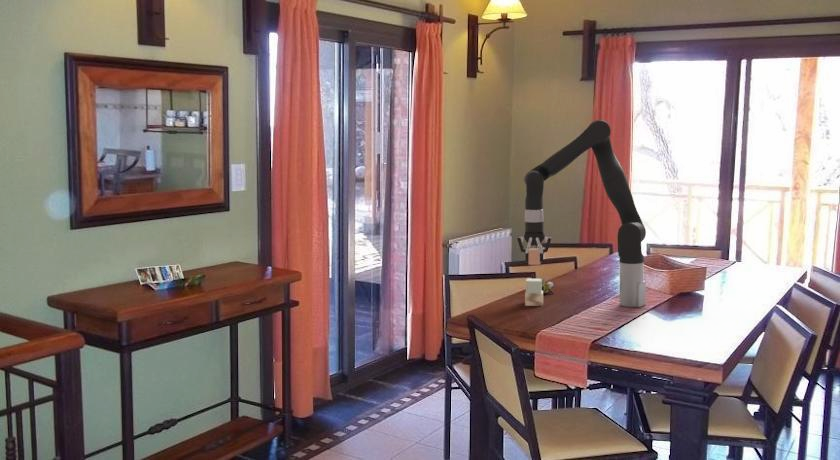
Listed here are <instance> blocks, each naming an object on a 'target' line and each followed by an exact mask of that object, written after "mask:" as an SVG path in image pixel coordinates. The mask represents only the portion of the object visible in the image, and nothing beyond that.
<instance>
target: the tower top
mask: <svg viewBox="0 0 840 460" xmlns="http://www.w3.org/2000/svg"><path fill="white" fill-rule="evenodd" d="M542 279H543V278H526V281H525V282H526V283H525V285H526V286H525V287H526V288H525V292H526V293H532V294H541V293H542Z"/></svg>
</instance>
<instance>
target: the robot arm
mask: <svg viewBox="0 0 840 460" xmlns="http://www.w3.org/2000/svg"><path fill="white" fill-rule="evenodd" d="M611 134H612V129H611V126H610V124H609V123H608V122H607V121H605V120H604V119H603V120H602V119H598V120H597V119H596V120H594V121H592V122H591V123H590V124H589V125H588V127H587V128H586V129H584V131H582V133H581V134H580V135H578V136H577V137H576V138H575V139H574V140H572V141H571V142H570V143H568V144H566V145H565V146H564V147H562V148H561V149H559V150H558V151H556V152H555V153H554V154H552V155H550V156H549V157H548V158H546V159H545V160H543V162H542V163H540V164H538V165H537V166H535V167H534V168H531V169H530V170H529V171H528V172H527V173H526V174H525V175H524V179H523V181H524V183H525V187H526V190H525V191H526V196H525V198H524V199H525V201H524V203H525V207H524V208H525V209H524V234H523V236H519V237H517V238H516V240H517V242H518V246H519V248H520V252H521V253H524V254H525V262H526V263H528V264H529V249H530V248H531V247H533V246H537V248H539V250H540V264H542V262H544V260H545V259H544V254H545V253H548V251H549V249H550V244H551V242H552V241H551V240H552V237H551V236H546V235H545V233H544V232H545V231H544V230H545V229H544V226H545V225H544V223H545V222H544V221H545V220H544V219H545V218H544V200H543V194H544V187H545V186H544V183H545V181H547V180H548V179H549V178H551V177H554V176H556V175H558V174H559V173H560V172H561V171H563V170H564V169H565V168H567V167H568V166H569V165H570V164H572V163H573V162H574V161H575V160H576V159H577V158H579V156H581V155H582V154H584V152H587V151H588V150H590V149H591V150H592V153H593V155H594V157H595V159H596V162H597V163H596V164H597V166H598V171H599V175H600V178H601V182H602V185H603V187H604V191H605V193H606V195H607V197H608V199H609V200H610V202H611V203H612V205H613V206H614V208H615V210H616V212H617V213H618V216H619V219H620V223H621V226H620V227H619V229H618V231H617V255H618V257H619V305H620V306H622V307H627V308H640V307H643V306H646V303H647V301H646V299H647V297H646V295H647V291H646V290H647V289H646V286H647V284H646V283H647V282H646V281H645V279H644V278H645V277H644V269H645V268H644V267H645V265H644V261H645V259H644V254H643V252H642V242H643V241H644V240H645V239H646V234H647V231H646V230H647V229H646V227H645V225H644V223H643V221H642V218H641V217H640V214H639V212H638V209H637V207H636V205H635V201H634V198H633V195H632V191H631V188H630V185H629V182H628V179H627V176H626V174H625V171H624V169H623V167H622V165H621V163H620V161H619V160H618V158H617V156H616V154H615V152H614V149H613V145H612V142H611ZM524 240H525V241H526V243H527V246H526V248H525V247H524V244H523V242H524ZM544 240H545V242H546V243H545V244H546V245H545V248H543V245H542V242H544Z"/></svg>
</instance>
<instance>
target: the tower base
mask: <svg viewBox="0 0 840 460" xmlns="http://www.w3.org/2000/svg"><path fill="white" fill-rule="evenodd" d="M543 305H544V292H543V291H542V293H541V294H532V293H526V291H525V293H524V306H526V307H530V306H531V307H533V306H535V307H543Z"/></svg>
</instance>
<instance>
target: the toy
mask: <svg viewBox="0 0 840 460" xmlns="http://www.w3.org/2000/svg"><path fill="white" fill-rule="evenodd" d="M541 279H542V291H543V294H549V293H550V294H552V295H554V292H552V291H551V289H554V283H553V282H552V281H546V278H541Z"/></svg>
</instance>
